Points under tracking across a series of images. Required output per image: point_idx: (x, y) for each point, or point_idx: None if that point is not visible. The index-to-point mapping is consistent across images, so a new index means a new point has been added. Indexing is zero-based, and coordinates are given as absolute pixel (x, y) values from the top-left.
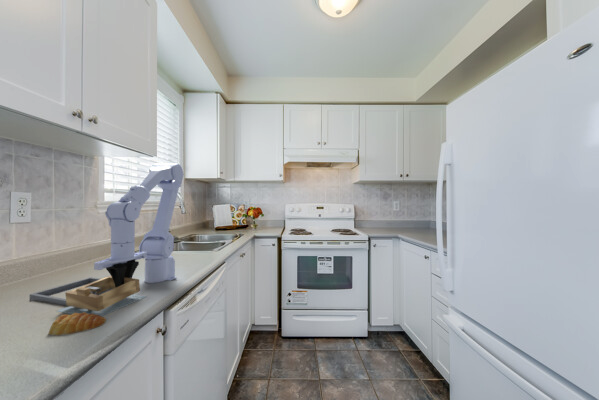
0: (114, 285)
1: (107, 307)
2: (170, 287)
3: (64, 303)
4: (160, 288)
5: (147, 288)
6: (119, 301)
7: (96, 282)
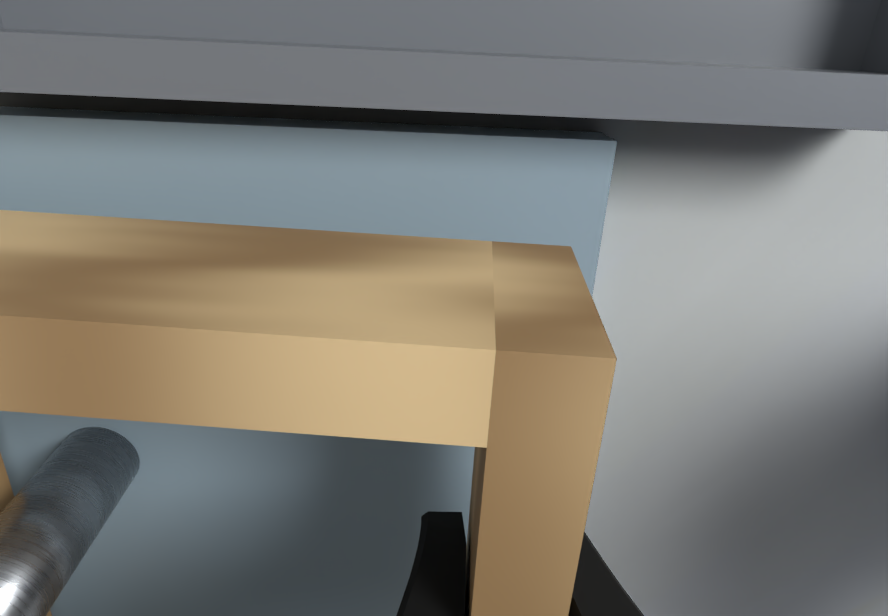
0: (476, 458)
1: (181, 579)
2: (884, 610)
3: None
4: (854, 546)
5: (859, 416)
6: (339, 559)
7: (174, 420)
